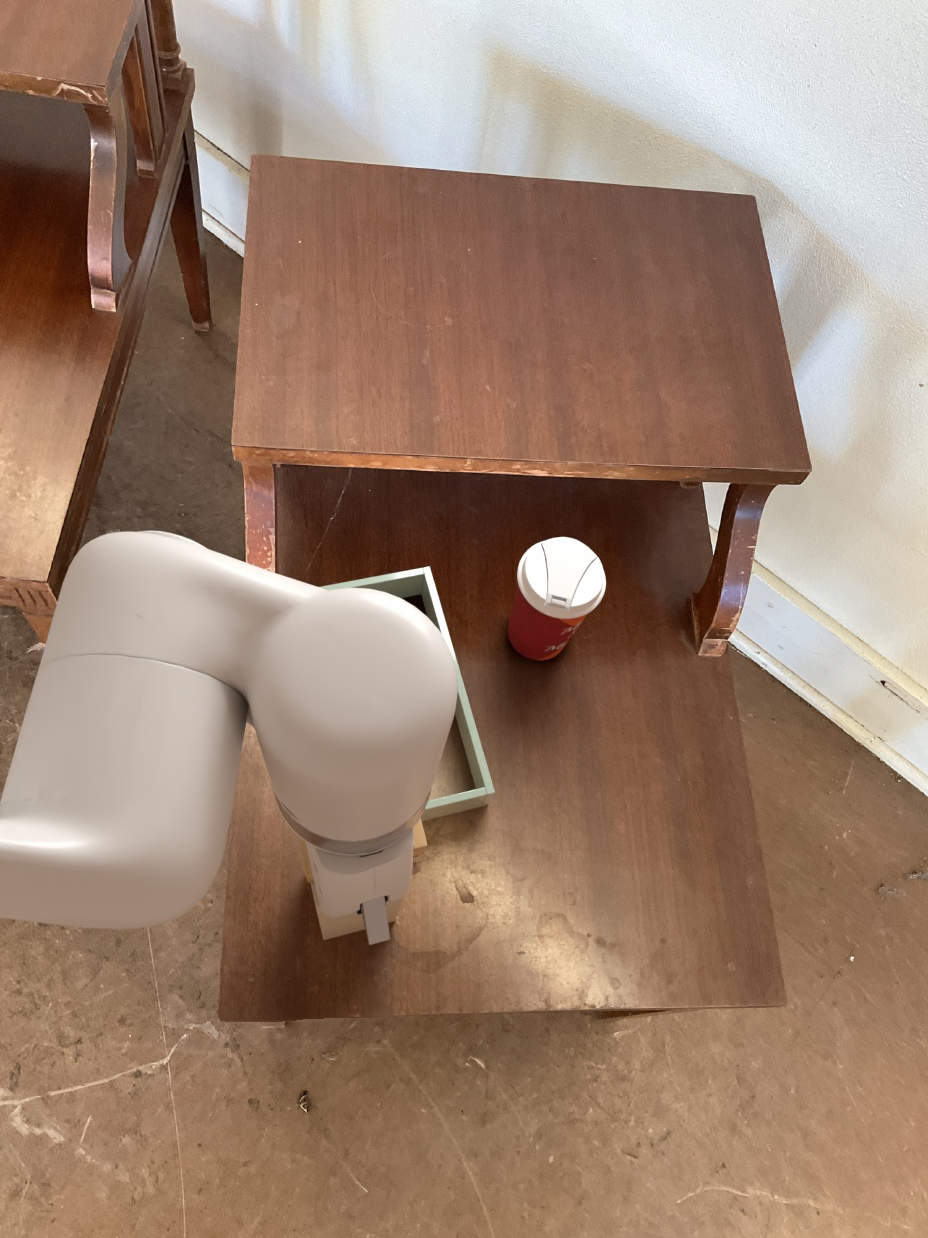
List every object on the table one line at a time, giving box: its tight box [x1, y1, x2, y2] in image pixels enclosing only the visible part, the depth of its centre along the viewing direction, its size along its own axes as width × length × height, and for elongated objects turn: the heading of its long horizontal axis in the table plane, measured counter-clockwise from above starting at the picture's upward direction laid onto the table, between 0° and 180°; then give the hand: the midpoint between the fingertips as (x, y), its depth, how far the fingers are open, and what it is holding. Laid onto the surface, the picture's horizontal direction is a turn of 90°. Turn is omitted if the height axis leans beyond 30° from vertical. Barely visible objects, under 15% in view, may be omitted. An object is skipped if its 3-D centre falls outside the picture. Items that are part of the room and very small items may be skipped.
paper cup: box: [507, 536, 607, 661], centre depth 83 cm, size 8×8×14 cm
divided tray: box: [319, 565, 496, 822], centre depth 82 cm, size 11×22×6 cm, turn 15°
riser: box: [310, 883, 404, 941], centre depth 68 cm, size 6×6×20 cm
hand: (352, 847), depth 58 cm, fingers closed on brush, 3 cm apart
